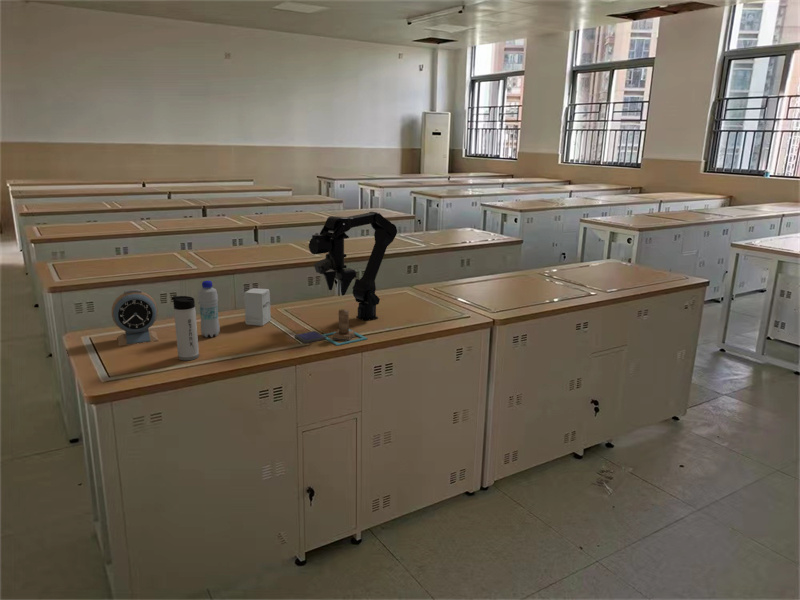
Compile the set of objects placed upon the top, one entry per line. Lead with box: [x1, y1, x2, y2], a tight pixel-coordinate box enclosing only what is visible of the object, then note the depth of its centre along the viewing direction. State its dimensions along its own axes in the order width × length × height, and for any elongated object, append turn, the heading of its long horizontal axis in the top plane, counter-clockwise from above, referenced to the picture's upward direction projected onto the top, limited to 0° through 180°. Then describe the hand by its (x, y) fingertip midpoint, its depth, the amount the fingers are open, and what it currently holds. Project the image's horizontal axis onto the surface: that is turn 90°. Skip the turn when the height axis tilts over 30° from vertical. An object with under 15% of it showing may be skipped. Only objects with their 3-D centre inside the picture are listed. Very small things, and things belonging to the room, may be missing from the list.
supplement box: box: [243, 287, 272, 327], centre depth 215 cm, size 7×7×13 cm
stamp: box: [332, 308, 356, 342], centre depth 201 cm, size 6×6×10 cm
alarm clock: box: [111, 288, 159, 347], centre depth 194 cm, size 14×10×18 cm
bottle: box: [197, 280, 221, 338], centre depth 199 cm, size 7×7×20 cm
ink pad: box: [294, 330, 327, 344], centre depth 201 cm, size 8×8×1 cm
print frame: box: [321, 328, 368, 347], centre depth 202 cm, size 12×12×1 cm
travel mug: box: [171, 295, 200, 362], centre depth 178 cm, size 6×7×20 cm
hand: (336, 292), depth 211 cm, fingers open, 9 cm apart
